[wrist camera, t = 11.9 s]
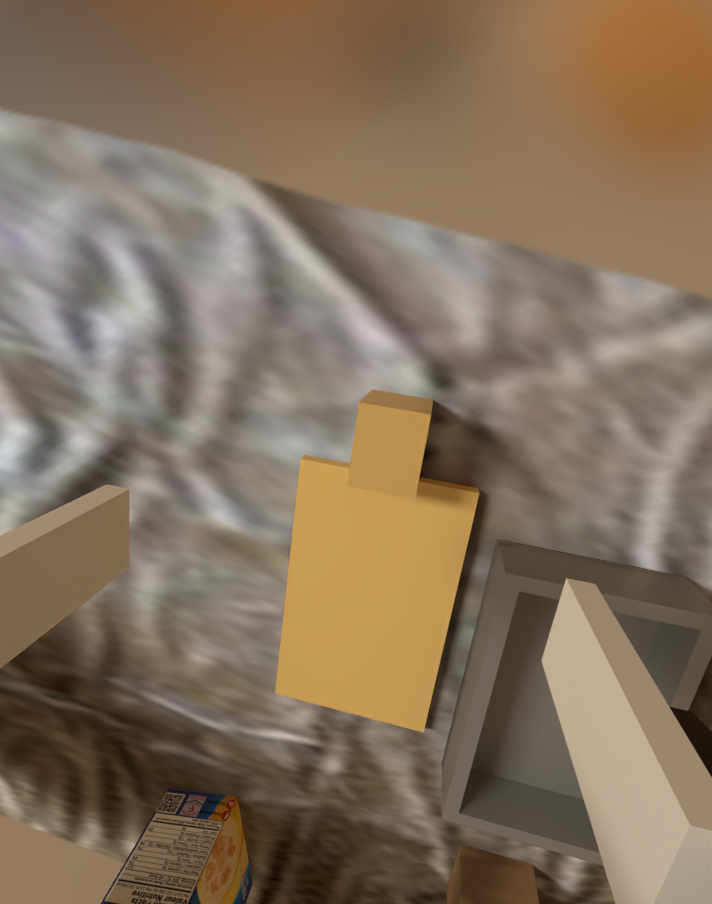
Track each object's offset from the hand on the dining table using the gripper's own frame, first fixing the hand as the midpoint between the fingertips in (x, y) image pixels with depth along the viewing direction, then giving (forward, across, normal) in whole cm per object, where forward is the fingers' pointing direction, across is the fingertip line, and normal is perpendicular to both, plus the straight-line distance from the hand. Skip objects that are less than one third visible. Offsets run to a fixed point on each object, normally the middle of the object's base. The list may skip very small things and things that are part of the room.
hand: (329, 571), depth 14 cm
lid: (+18, 0, -12) cm, 22 cm away
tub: (+18, +14, -16) cm, 28 cm away
